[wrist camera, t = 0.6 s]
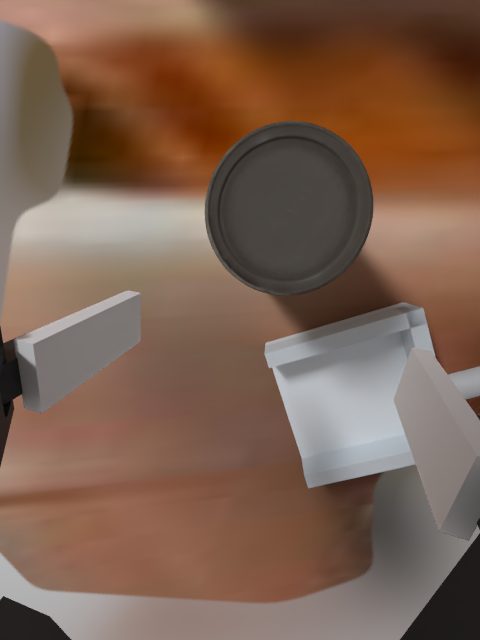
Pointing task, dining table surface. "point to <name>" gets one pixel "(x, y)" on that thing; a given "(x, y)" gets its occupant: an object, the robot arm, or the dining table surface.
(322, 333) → the tray
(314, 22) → the dining table surface
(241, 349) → the dining table surface
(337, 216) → the coffee can
